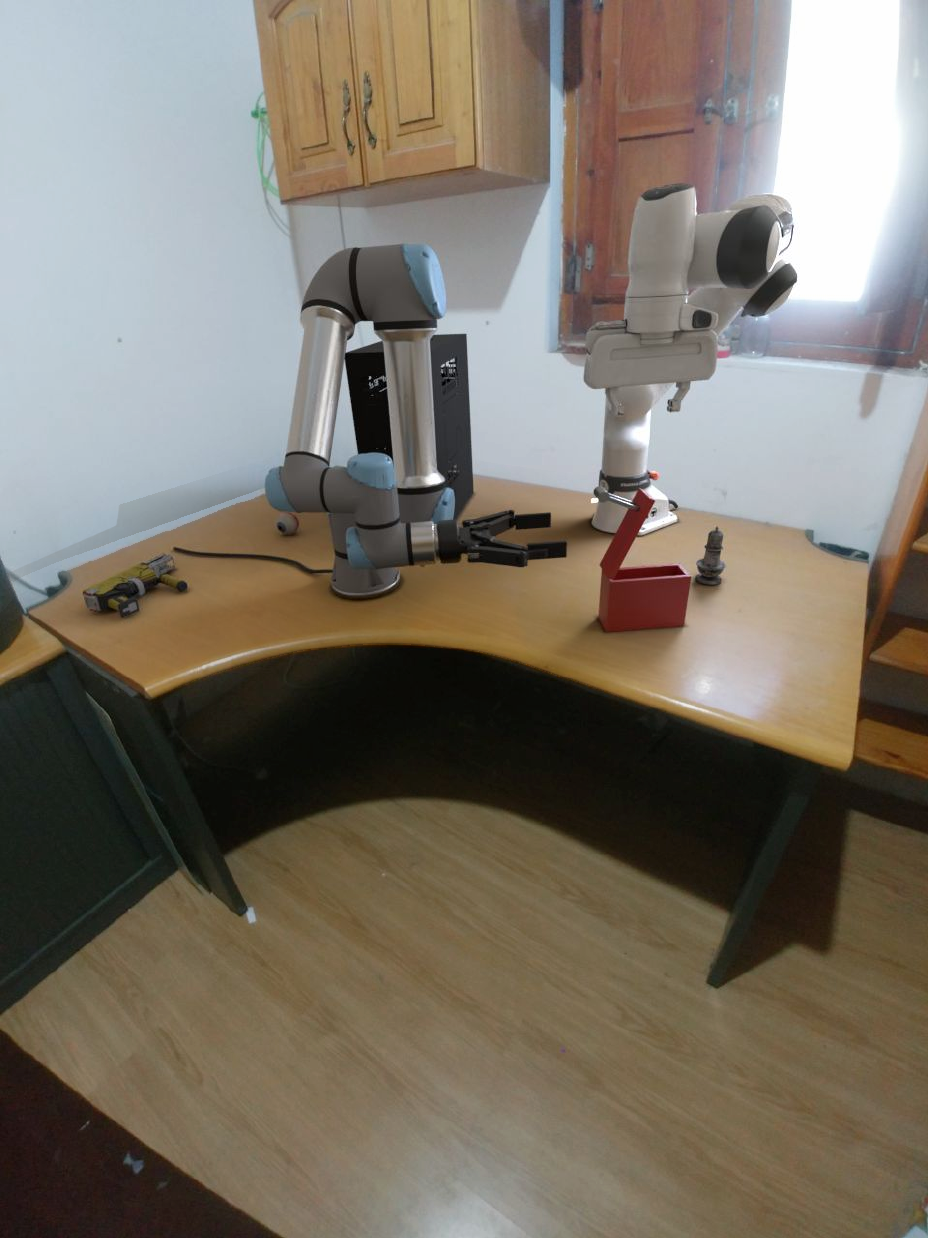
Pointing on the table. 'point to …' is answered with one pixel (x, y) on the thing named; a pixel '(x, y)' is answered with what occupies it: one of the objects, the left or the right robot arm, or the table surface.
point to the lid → (624, 527)
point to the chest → (644, 597)
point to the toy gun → (131, 586)
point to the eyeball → (287, 523)
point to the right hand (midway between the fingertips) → (645, 413)
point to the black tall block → (447, 407)
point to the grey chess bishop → (711, 560)
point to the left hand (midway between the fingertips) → (558, 533)
